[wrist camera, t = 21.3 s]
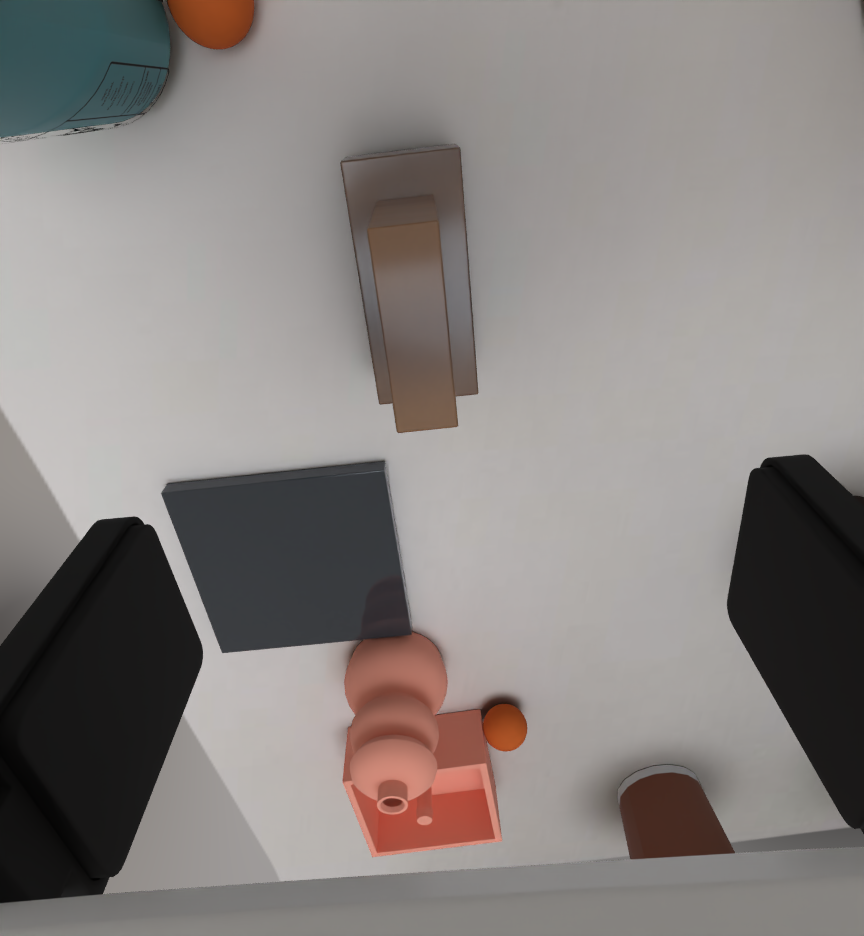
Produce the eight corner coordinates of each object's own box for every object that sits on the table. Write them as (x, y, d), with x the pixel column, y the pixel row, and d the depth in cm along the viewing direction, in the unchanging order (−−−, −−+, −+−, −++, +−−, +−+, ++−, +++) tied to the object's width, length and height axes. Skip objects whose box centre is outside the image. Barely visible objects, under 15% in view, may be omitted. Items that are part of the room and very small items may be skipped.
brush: (348, 153, 27) (318, 178, 18) (454, 141, 27) (473, 160, 18) (382, 375, 32) (371, 473, 23) (472, 365, 32) (492, 460, 23)
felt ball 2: (501, 698, 46) (470, 708, 44) (531, 699, 43) (501, 710, 41) (508, 742, 45) (478, 754, 43) (539, 746, 43) (509, 759, 41)
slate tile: (166, 483, 35) (160, 493, 34) (385, 460, 34) (384, 470, 33) (225, 641, 41) (221, 653, 40) (412, 624, 40) (412, 635, 39)
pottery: (495, 786, 49) (512, 930, 41) (375, 801, 50) (367, 946, 41) (461, 615, 40) (474, 754, 32) (315, 636, 41) (289, 779, 32)
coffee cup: (712, 742, 47) (796, 925, 37) (721, 811, 51) (798, 991, 41) (590, 768, 48) (639, 952, 38) (609, 833, 53) (658, 1013, 42)
